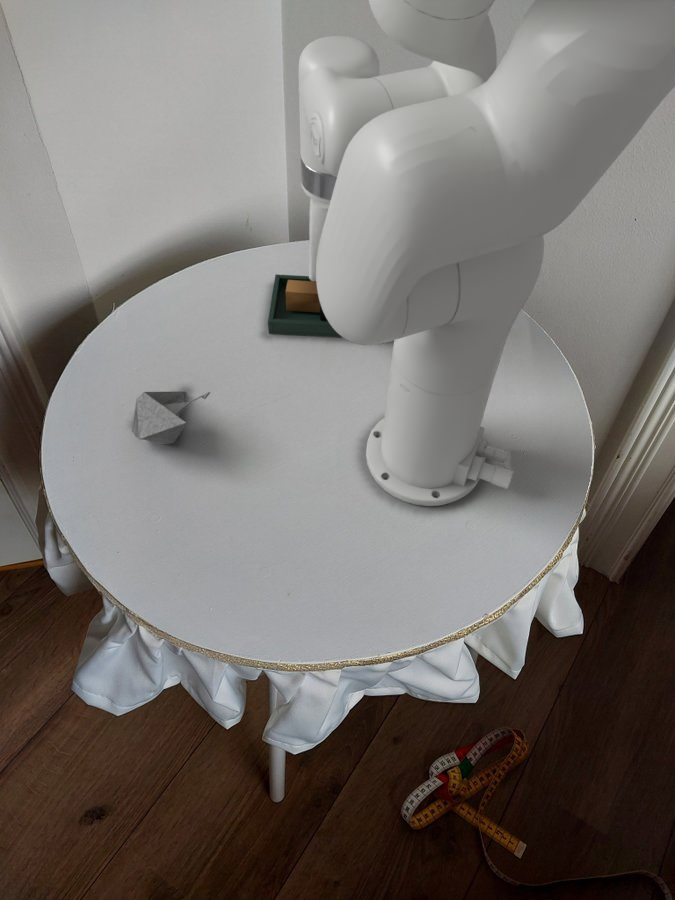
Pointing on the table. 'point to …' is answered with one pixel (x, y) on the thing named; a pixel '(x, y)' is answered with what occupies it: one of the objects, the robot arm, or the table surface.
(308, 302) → the fork
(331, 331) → the tray
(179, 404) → the grey angular piece
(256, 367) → the table surface
